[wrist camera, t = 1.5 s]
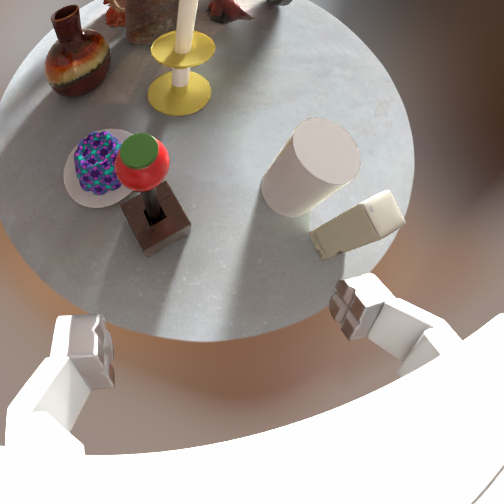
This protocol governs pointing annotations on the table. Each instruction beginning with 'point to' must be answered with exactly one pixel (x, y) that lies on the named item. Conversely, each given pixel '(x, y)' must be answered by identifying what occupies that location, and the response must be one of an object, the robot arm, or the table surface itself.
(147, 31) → the brown textured cylinder
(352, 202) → the table surface
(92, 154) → the pudding
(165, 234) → the block
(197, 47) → the candle
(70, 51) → the vase
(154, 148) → the joystick
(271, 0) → the headphones
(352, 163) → the white cylinder
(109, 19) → the seashell
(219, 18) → the stuffed fox
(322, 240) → the box
